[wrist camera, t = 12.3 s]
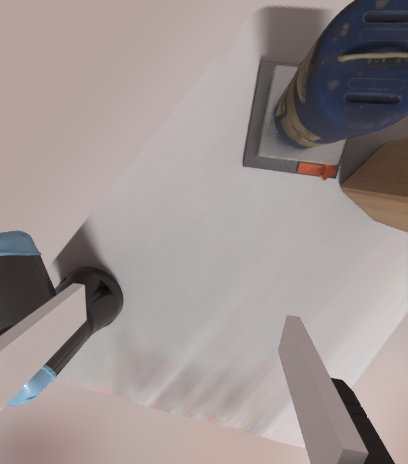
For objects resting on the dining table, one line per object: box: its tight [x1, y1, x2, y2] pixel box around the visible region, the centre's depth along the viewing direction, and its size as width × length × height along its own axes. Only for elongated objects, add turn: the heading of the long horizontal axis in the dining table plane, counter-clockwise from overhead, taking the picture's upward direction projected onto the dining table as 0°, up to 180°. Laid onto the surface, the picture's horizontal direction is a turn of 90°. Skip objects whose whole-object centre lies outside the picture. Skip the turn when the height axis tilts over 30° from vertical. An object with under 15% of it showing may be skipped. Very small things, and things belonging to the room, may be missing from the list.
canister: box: [275, 0, 408, 149], centre depth 23 cm, size 10×10×18 cm
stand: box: [243, 61, 347, 180], centre depth 34 cm, size 16×17×5 cm
